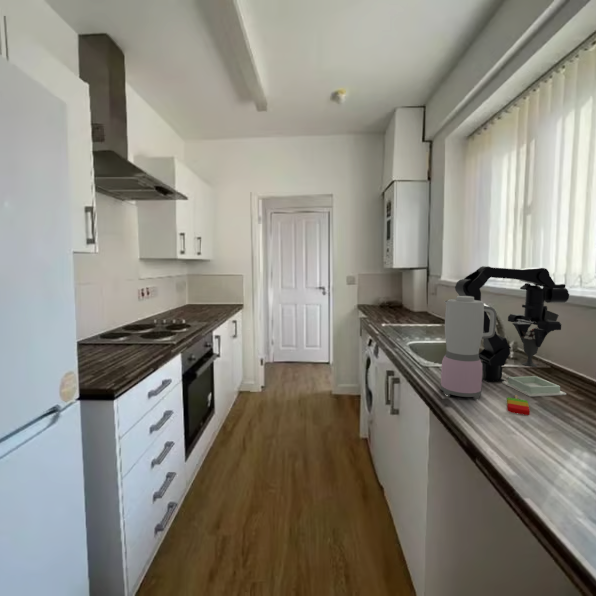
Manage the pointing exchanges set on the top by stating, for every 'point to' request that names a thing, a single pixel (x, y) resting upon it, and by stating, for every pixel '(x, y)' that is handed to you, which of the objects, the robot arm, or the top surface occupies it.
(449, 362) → the blender
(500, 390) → the top surface
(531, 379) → the holder cell
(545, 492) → the top surface
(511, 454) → the top surface
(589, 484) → the top surface
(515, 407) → the popsicle
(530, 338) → the sundae
